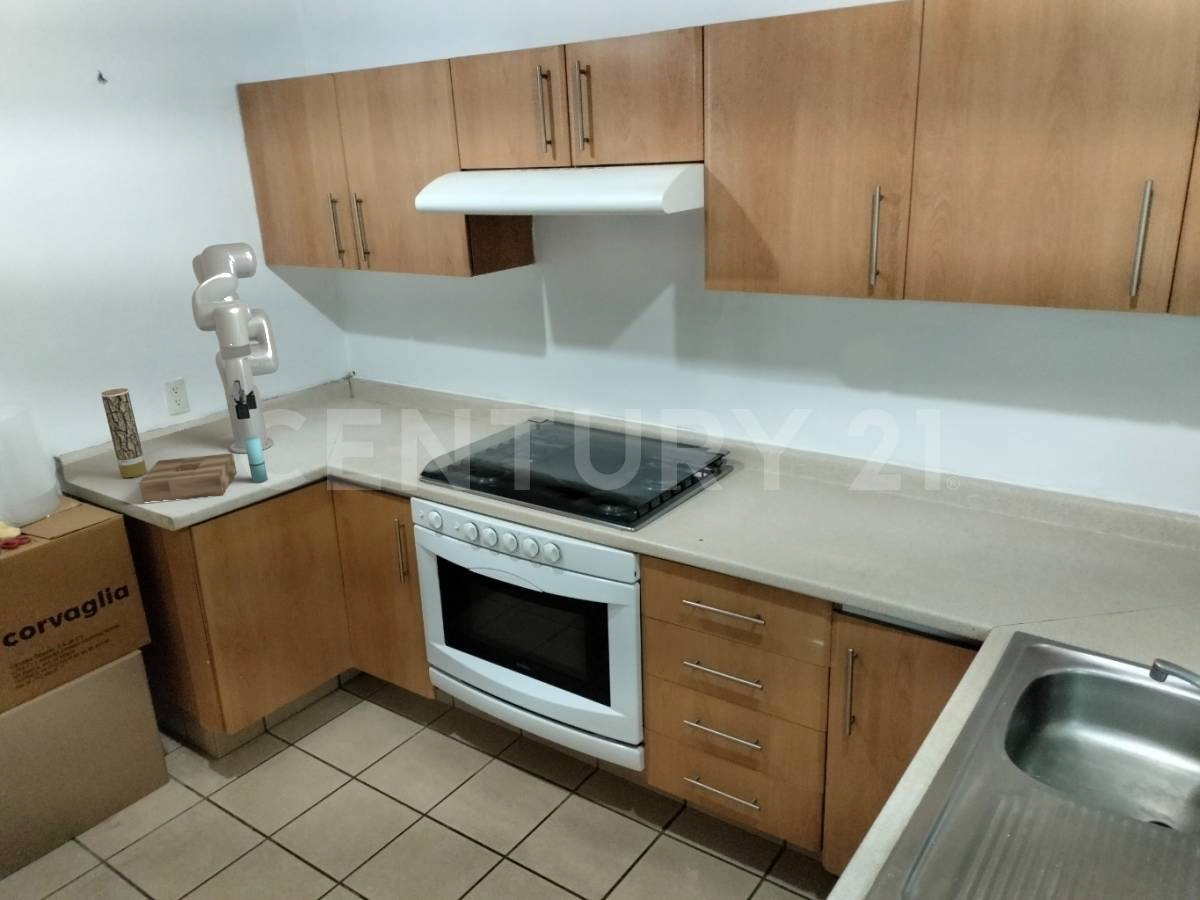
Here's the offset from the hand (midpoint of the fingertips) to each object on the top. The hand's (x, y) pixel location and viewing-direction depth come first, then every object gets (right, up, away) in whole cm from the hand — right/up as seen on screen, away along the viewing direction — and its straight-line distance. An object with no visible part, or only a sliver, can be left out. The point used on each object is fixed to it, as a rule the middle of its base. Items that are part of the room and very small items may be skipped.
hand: (247, 413), depth 244 cm
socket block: (-17, -20, +4) cm, 27 cm away
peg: (+1, -18, +7) cm, 19 cm away
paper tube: (-39, -17, +17) cm, 46 cm away
